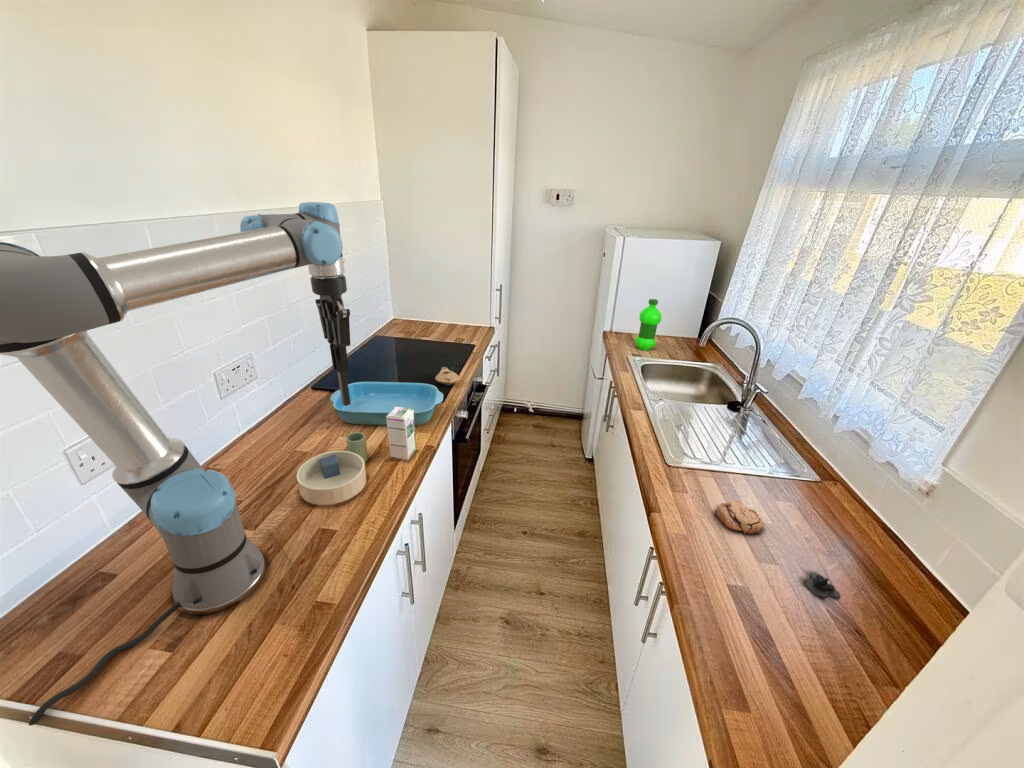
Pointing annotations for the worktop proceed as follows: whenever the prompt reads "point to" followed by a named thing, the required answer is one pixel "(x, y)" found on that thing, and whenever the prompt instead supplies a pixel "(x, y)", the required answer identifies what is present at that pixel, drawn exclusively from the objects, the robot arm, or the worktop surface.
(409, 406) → the casserole dish
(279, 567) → the worktop surface
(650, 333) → the plastic bottle
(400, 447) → the syrup box
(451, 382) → the pottery oil lamp
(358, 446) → the utensil pot
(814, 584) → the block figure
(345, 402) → the chopstick
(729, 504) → the cookie
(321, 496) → the bowl
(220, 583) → the robot arm
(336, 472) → the block
